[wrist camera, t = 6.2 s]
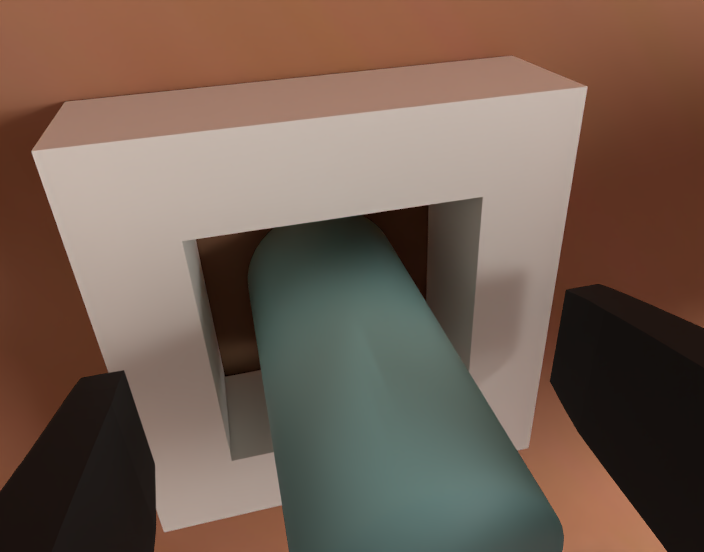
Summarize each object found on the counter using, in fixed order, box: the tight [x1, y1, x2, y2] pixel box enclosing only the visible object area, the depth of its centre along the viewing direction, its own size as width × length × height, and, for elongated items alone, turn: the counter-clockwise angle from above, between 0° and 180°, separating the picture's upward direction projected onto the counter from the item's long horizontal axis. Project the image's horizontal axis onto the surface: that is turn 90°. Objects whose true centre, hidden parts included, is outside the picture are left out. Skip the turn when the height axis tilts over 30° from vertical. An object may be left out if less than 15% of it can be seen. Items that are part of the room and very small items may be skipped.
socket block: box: [31, 56, 587, 532], centre depth 11 cm, size 8×8×2 cm
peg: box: [248, 215, 564, 552], centre depth 10 cm, size 3×3×7 cm
